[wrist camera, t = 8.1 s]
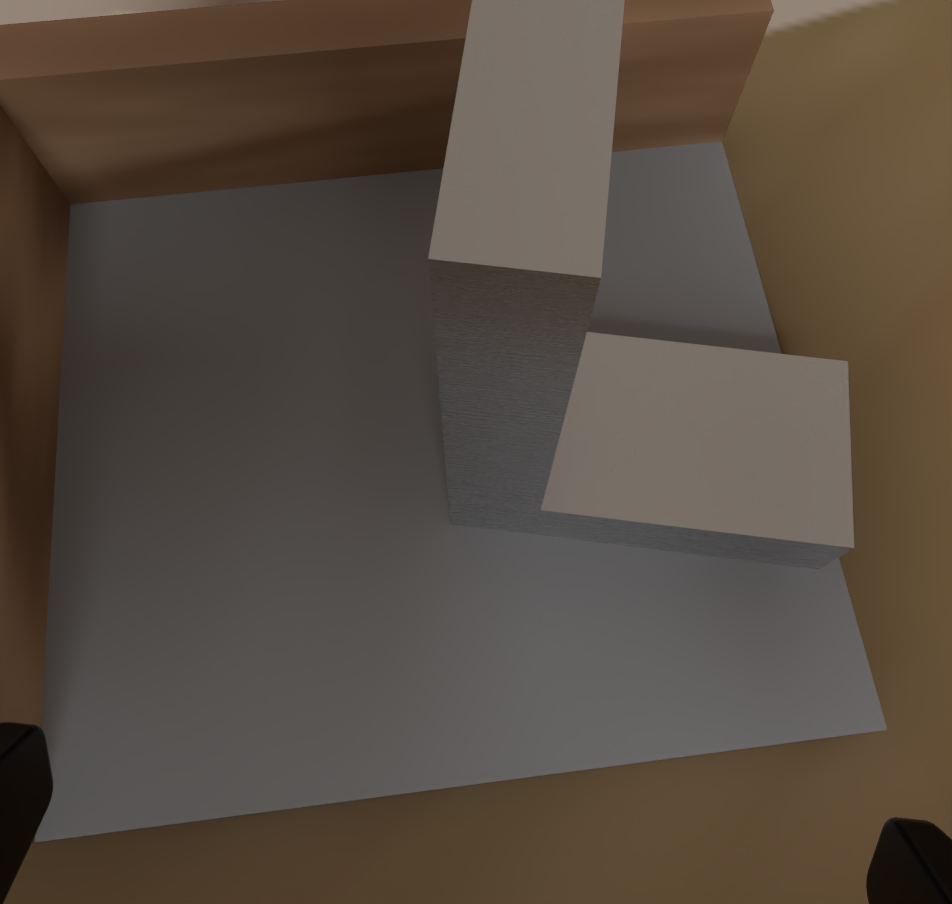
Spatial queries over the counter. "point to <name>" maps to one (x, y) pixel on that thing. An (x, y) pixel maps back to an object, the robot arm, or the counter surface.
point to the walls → (249, 169)
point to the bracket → (601, 336)
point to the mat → (378, 523)
